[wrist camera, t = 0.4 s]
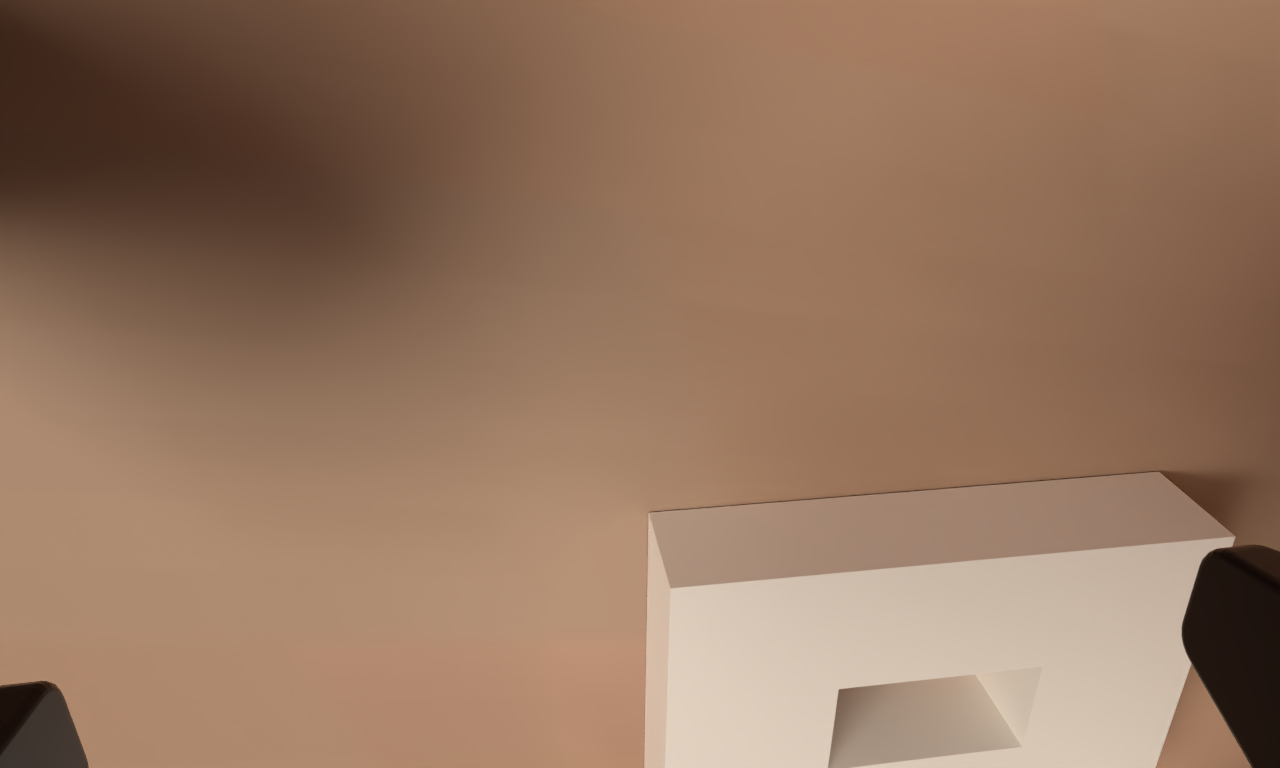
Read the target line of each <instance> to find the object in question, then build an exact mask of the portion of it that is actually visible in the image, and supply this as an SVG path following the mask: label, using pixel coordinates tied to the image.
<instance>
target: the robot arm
mask: <svg viewBox="0 0 1280 768" xmlns="http://www.w3.org/2000/svg"><path fill="white" fill-rule="evenodd" d="M1181 636H1182V641H1183V646H1184V649H1185V651H1186V654H1187V656H1188V658H1189V660H1190V662H1191V663H1192V665H1193V667H1194V668H1195V670H1196V672H1197V674H1198V675H1199V677H1200V679H1201V681H1202V682H1203V684H1204V686H1205V687H1206V689H1207V691H1208V693H1209V694H1210V696H1211V698H1212V699H1213V701H1214V703H1215V705H1216V706H1217V708H1218V710H1219V712H1220V713H1221V715H1222V717H1223V718H1224V720H1225V722H1226V724H1227V725H1228V727H1229V729H1230V730H1231V732H1232V734H1233V736H1234V737H1235V739H1236V741H1237V743H1238V744H1239V746H1240V748H1241V749H1242V751H1243V753H1244V755H1245V756H1246V758H1247V760H1248V762H1249V763H1250V765H1251V767H1252V768H1280V552H1279V551H1276V550H1273V549H1271V548H1268V547H1265V546H1261V545H1244V546H1235V547H1226V548H1218V549H1215V550H1212V551H1210V552H1209V553H1208V554H1207V555H1206V556H1205V557H1204V558H1203V559H1202V561H1201V563H1200V566H1199V569H1198V572H1197V576H1196V579H1195V582H1194V585H1193V589H1192V592H1191V595H1190V599H1189V602H1188V605H1187V608H1186V612H1185V615H1184V618H1183V622H1182V627H1181ZM0 768H89V767H88V762H87V758H86V755H85V753H84V750H83V747H82V744H81V742H80V739H79V736H78V734H77V731H76V728H75V726H74V723H73V720H72V717H71V715H70V712H69V709H68V707H67V704H66V701H65V699H64V696H63V694H62V693H61V691H60V689H59V688H58V687H57V686H56V685H55V684H53V683H51V682H47V681H37V682H28V683H19V684H10V685H1V686H0Z"/></svg>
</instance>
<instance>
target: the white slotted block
mask: <svg viewBox="0 0 1280 768" xmlns="http://www.w3.org/2000/svg"><path fill="white" fill-rule="evenodd" d="M1235 537H1236V536H1234V535H1233V534H1232V533H1231V532H1230V531H1229V530H1227V529H1226V528H1225V527H1224V526H1223V525H1221V524H1220V523H1219V522H1218V521H1217V520H1216V519H1214V518H1213V517H1212V516H1211V515H1210V514H1209V513H1207V512H1206V511H1205V510H1204V509H1203V508H1201V507H1200V506H1199V505H1198V504H1197V503H1196V502H1194V501H1193V500H1192V499H1191V498H1190V497H1188V496H1187V495H1186V494H1185V493H1184V492H1183V491H1181V490H1180V489H1179V488H1178V487H1177V486H1175V485H1174V484H1173V483H1172V482H1171V481H1170V480H1168V479H1167V478H1166V477H1165V476H1164V475H1162V474H1161V473H1160V472H1148V473H1136V474H1123V475H1111V476H1099V477H1086V478H1074V479H1061V480H1049V481H1036V482H1024V483H1012V484H999V485H987V486H974V487H962V488H949V489H937V490H924V491H912V492H900V493H887V494H875V495H862V496H850V497H837V498H825V499H812V500H800V501H788V502H775V503H763V504H750V505H738V506H725V507H713V508H701V509H688V510H676V511H663V512H651V513H649V525H648V584H647V643H646V702H645V760H644V768H1155V767H1156V764H1157V761H1158V759H1159V756H1160V753H1161V750H1162V747H1163V744H1164V741H1165V738H1166V736H1167V733H1168V730H1169V727H1170V724H1171V721H1172V718H1173V715H1174V712H1175V710H1176V707H1177V704H1178V701H1179V698H1180V695H1181V692H1182V689H1183V687H1184V684H1185V681H1186V678H1187V675H1188V672H1189V669H1190V666H1191V664H1192V663H1191V662H1190V660H1189V658H1188V656H1187V654H1186V651H1185V649H1184V646H1183V641H1182V636H1181V627H1182V622H1183V618H1184V615H1185V612H1186V608H1187V605H1188V602H1189V599H1190V595H1191V592H1192V589H1193V585H1194V582H1195V579H1196V576H1197V572H1198V569H1199V566H1200V563H1201V561H1202V559H1203V558H1204V557H1205V556H1206V555H1207V554H1208V553H1209V552H1210V551H1212V550H1215V549H1218V548H1226V547H1232V546H1233V543H1234V540H1235Z"/></svg>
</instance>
